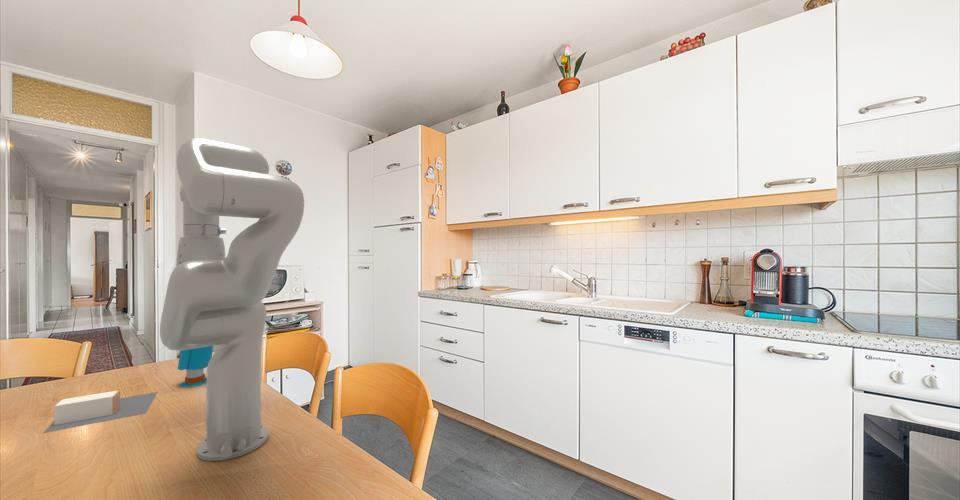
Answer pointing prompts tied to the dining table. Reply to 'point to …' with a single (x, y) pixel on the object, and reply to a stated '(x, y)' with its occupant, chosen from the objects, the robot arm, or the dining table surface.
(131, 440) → the dining table surface
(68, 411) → the block
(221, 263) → the robot arm
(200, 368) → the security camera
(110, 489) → the dining table surface
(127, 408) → the mat
